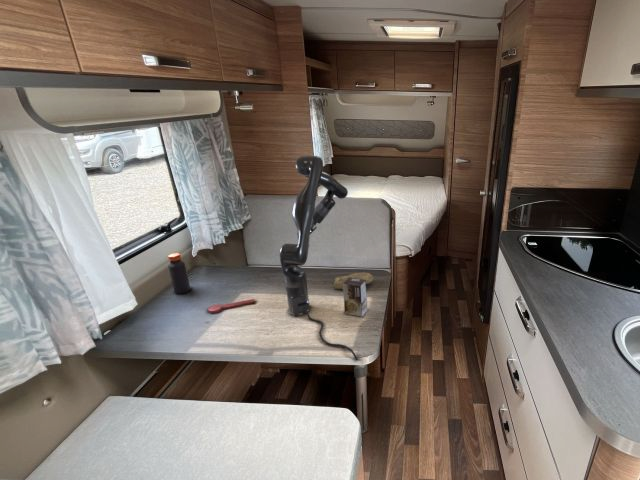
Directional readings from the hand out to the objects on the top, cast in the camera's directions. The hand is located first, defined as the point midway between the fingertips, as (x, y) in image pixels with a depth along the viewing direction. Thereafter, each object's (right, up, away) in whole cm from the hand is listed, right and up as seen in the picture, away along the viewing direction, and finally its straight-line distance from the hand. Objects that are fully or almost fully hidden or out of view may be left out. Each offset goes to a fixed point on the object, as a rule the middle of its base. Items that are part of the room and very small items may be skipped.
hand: (299, 237), depth 183 cm
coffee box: (+35, -35, -26) cm, 56 cm away
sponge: (+31, -26, -3) cm, 41 cm away
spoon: (-24, -33, -24) cm, 47 cm away
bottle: (-56, -28, -11) cm, 64 cm away
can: (+1, -6, +3) cm, 7 cm away
